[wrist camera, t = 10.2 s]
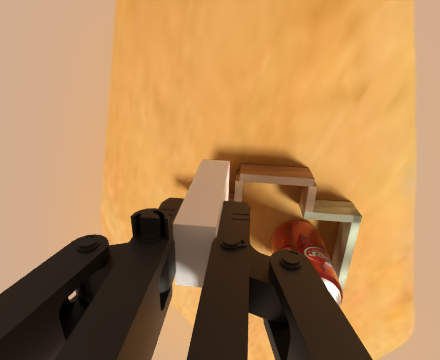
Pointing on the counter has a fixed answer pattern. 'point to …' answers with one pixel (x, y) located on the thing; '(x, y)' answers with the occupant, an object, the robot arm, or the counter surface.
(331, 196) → the counter surface
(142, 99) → the counter surface
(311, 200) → the trap box
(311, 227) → the soda can
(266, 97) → the counter surface
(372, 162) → the counter surface
